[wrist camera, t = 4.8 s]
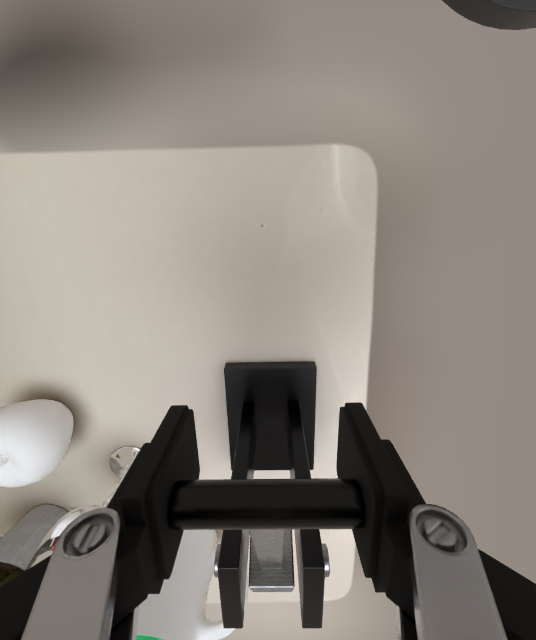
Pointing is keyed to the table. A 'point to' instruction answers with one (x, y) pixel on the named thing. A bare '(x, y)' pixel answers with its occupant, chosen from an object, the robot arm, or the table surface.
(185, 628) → the mug
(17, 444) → the plain white apple
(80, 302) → the table surface
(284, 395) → the bracket
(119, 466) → the wineglass
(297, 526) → the lever
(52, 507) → the house plant
